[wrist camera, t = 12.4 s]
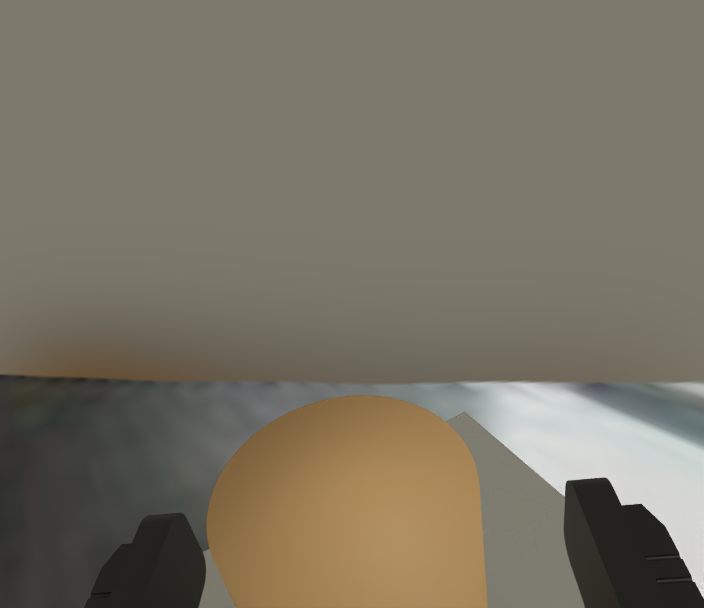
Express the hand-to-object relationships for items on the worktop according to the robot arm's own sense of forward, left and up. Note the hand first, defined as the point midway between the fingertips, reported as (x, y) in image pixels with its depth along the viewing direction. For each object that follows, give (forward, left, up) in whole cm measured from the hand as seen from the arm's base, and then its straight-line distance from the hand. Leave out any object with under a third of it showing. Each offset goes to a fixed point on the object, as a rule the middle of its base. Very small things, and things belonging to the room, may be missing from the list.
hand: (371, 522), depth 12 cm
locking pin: (+1, +2, -10) cm, 11 cm away
